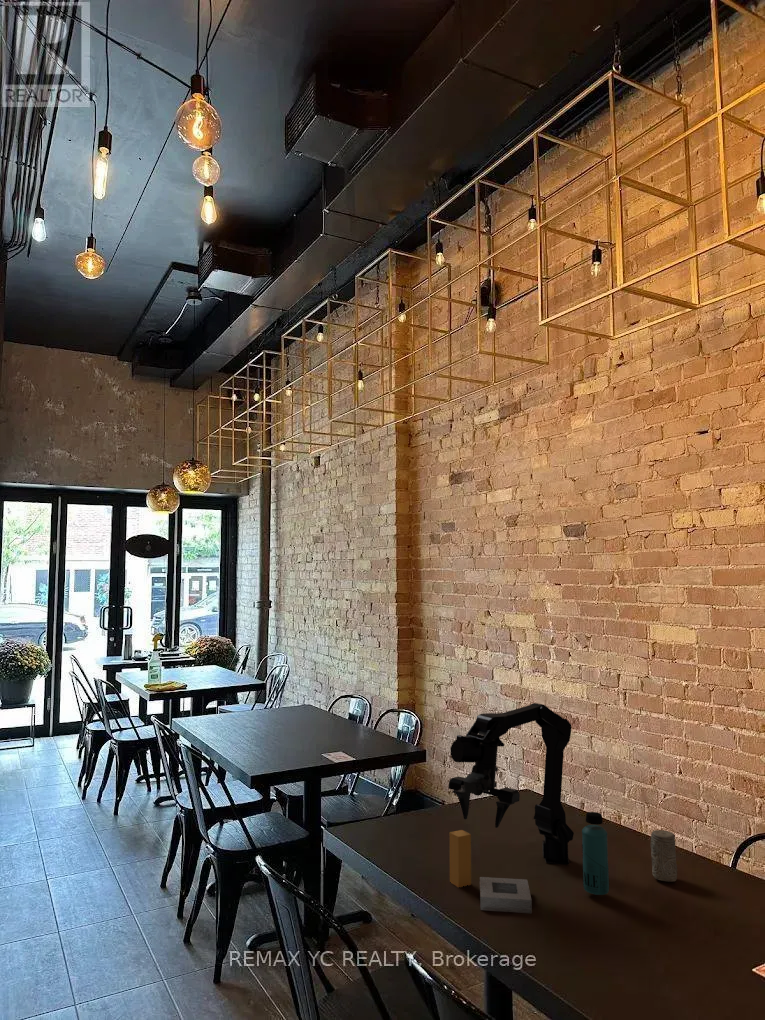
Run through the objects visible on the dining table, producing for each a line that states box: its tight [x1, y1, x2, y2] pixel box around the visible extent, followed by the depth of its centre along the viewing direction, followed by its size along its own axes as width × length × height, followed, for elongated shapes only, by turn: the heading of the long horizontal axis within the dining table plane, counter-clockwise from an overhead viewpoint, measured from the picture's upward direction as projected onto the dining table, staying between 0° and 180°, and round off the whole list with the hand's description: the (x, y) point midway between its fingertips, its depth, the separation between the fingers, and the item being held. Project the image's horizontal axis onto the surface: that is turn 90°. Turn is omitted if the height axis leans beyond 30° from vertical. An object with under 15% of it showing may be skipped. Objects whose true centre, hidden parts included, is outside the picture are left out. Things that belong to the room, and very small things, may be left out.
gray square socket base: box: [479, 876, 533, 914], centre depth 172 cm, size 12×12×3 cm
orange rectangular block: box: [449, 829, 472, 888], centre depth 183 cm, size 4×4×12 cm
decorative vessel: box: [650, 829, 678, 883], centre depth 186 cm, size 6×8×12 cm
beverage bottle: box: [581, 811, 610, 896], centre depth 176 cm, size 6×7×20 cm
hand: (480, 823), depth 187 cm, fingers open, 9 cm apart
